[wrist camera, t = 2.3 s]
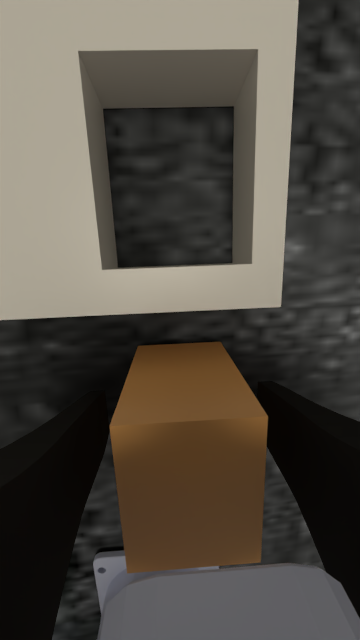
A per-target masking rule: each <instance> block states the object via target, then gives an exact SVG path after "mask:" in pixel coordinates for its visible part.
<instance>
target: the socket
mask: <svg viewBox="0 0 360 640" xmlns="http://www.w3.org/2000/svg"><path fill="white" fill-rule="evenodd" d="M297 17H298V0H0V320H11V319H33V318H54V317H75V316H97V315H118V314H139V313H161V312H182V311H204V310H225V309H246V308H268V307H281V296H282V278H283V261H284V244H285V226H286V209H287V191H288V174H289V157H290V139H291V122H292V104H293V87H294V70H295V52H296V35H297ZM225 106H234V142H233V238H232V263H222V264H197V265H173V266H148V267H123V268H118V262H117V252H116V241H115V231H114V220H113V210H112V199H111V189H110V178H109V167H108V157H107V146H106V136H105V125H104V115H103V109H114V108H170V107H225Z"/></svg>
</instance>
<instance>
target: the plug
mask: <svg viewBox="0 0 360 640" xmlns="http://www.w3.org/2000/svg"><path fill="white" fill-rule="evenodd" d="M267 426H268V416H267V414H266V412H265V411H264V409H263V408H262V406H261V405H260V403H259V401H258V400H257V398H256V397H255V395H254V394H253V392H252V391H251V389H250V387H249V386H248V384H247V383H246V381H245V380H244V378H243V376H242V375H241V373H240V372H239V370H238V369H237V367H236V365H235V364H234V362H233V361H232V359H231V358H230V356H229V355H228V353H227V351H226V350H225V348H224V347H223V345H222V344H221V342H203V343H183V344H164V345H144V346H138V347H137V350H136V353H135V356H134V359H133V361H132V364H131V367H130V370H129V373H128V375H127V378H126V381H125V384H124V387H123V390H122V392H121V395H120V398H119V401H118V404H117V406H116V409H115V412H114V415H113V418H112V421H111V423H110V435H111V443H112V451H113V460H114V468H115V476H116V485H117V493H118V501H119V510H120V518H121V526H122V535H123V543H124V551H125V560H126V568H127V573H139V572H151V571H163V570H175V569H187V568H199V567H211V566H223V565H235V564H247V563H259V562H261V545H262V525H263V505H264V485H265V465H266V445H267Z"/></svg>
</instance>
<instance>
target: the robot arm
mask: <svg viewBox="0 0 360 640" xmlns="http://www.w3.org/2000/svg"><path fill="white" fill-rule="evenodd" d="M257 400H258V401H259V403H260V405H261V406H262V408H263V409H264V411H265V412H266V414H267V416H268V426H267V447H268V449H269V451H270V453H271V455H272V456H273V458H274V460H275V462H276V464H277V466H278V467H279V469H280V471H281V473H282V475H283V476H284V478H285V480H286V482H287V484H288V485H289V487H290V489H291V491H292V493H293V495H294V497H295V499H296V501H297V503H298V506H299V508H300V510H301V512H302V515H303V517H304V519H305V522H306V524H307V526H308V529H309V531H310V533H311V536H312V538H313V541H314V543H315V545H316V548H317V550H318V553H319V555H320V558H321V560H322V563H323V565H324V568H325V570H326V572H325V571H324V570H322V569H320V568H318V567H316V566H311V565H302V564H294V563H282V564H270V565H258V566H246V567H234V568H222V569H219V566H211V567H199V568H187V569H175V570H163V571H151V572H139V573H127V568H126V560H125V551H124V550H121V551H109V552H100V553H98V554H96V555H95V557H94V561H93V567H94V573H95V579H96V585H97V592H98V598H99V604H100V610H101V621H100V627H99V632H98V637H97V640H360V422H359V421H356V420H353V419H351V418H348V417H346V416H343V415H341V414H338V413H336V412H333V411H331V410H329V409H327V408H325V407H322V406H320V405H318V404H316V403H314V402H312V401H310V400H308V399H306V398H304V397H302V396H300V395H298V394H296V393H295V392H293V391H291V390H289V389H287V388H285V387H283V386H281V385H279V384H277V383H275V382H272V381H264V382H258V394H257ZM108 435H109V422H108V414H107V406H106V398H105V391H91V392H89V393H88V394H86V395H85V396H83V397H82V398H80V399H79V400H78V401H76V402H75V403H74V404H72V405H71V406H69V407H68V408H67V409H65V410H64V411H63V412H61V413H60V414H58V415H57V416H55V417H54V418H52V419H51V420H49V421H48V422H46V423H45V424H43V425H42V426H40V427H39V428H37V429H36V430H34V431H32V432H31V433H29V434H27V435H26V436H24V437H22V438H20V439H19V440H17V441H15V442H13V443H11V444H9V445H8V446H6V447H4V448H1V449H0V640H52V635H53V631H54V626H55V622H56V617H57V613H58V609H59V604H60V600H61V596H62V591H63V587H64V583H65V579H66V575H67V570H68V566H69V562H70V558H71V554H72V550H73V546H74V543H75V539H76V535H77V531H78V528H79V524H80V520H81V516H82V513H83V510H84V507H85V504H86V501H87V499H88V496H89V493H90V490H91V488H92V485H93V482H94V480H95V477H96V474H97V471H98V469H99V466H100V463H101V460H102V458H103V455H104V452H105V448H106V444H107V439H108Z"/></svg>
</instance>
